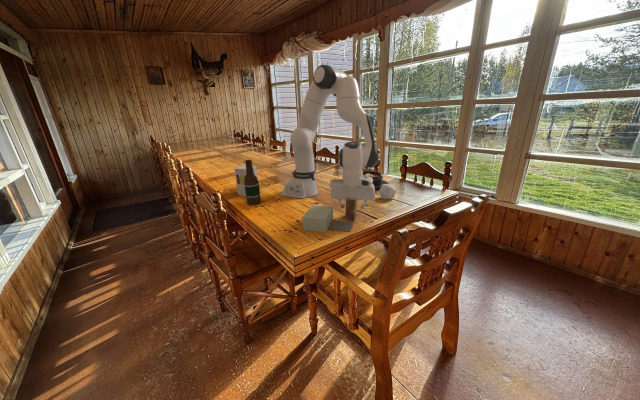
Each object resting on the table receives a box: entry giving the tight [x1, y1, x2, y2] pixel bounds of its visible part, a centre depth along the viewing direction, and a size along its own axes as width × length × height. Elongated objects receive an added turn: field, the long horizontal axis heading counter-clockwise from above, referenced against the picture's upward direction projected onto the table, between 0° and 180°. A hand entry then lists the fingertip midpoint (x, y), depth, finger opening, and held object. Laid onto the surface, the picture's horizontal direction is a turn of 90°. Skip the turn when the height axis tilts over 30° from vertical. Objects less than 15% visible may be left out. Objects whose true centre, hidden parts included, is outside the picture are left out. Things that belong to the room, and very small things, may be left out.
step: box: [301, 204, 334, 233], centre depth 114 cm, size 10×14×6 cm
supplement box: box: [234, 164, 259, 197], centre depth 155 cm, size 10×9×17 cm
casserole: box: [362, 170, 390, 190], centre depth 160 cm, size 25×19×8 cm
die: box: [378, 183, 397, 201], centre depth 140 cm, size 8×9×10 cm
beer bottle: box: [244, 159, 262, 206], centre depth 139 cm, size 8×8×24 cm
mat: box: [328, 219, 355, 233], centre depth 112 cm, size 9×9×1 cm
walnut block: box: [345, 198, 358, 222], centre depth 119 cm, size 4×7×10 cm, turn 164°
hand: (352, 208), depth 119 cm, fingers open, 8 cm apart
